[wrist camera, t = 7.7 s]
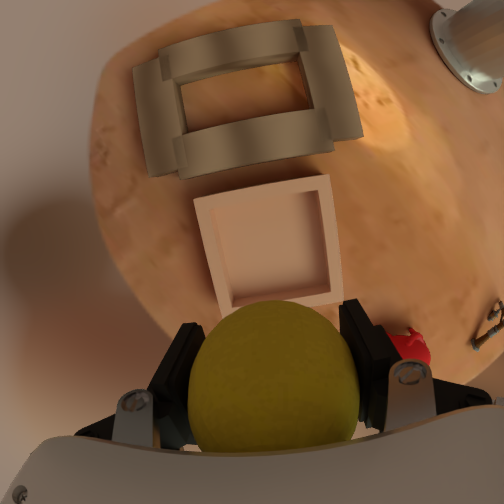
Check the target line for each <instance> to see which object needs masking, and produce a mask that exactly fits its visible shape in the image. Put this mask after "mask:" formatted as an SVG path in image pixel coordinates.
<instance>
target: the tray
mask: <svg viewBox="0 0 504 504" xmlns="http://www.w3.org/2000/svg"><path fill="white" fill-rule="evenodd" d="M193 201H194V205H195V210H196V214H197V219H198V223H199V227H200V232H201V236H202V240H203V244H204V248H205V253H206V257H207V261H208V265H209V269H210V273H211V277H212V280H213V284H214V288H215V292H216V296H217V300H218V303H219V307H220V311H221V314H222V318H223V319H224V318H225V317H226V316H228V315H229V314H231V313H233V312H234V311H236V310H238V309H239V308H241V307H243V306H246V305H250V304H253V303H256V302H259V301H269V300H283V301H291V302H295V303H298V304H301V305H304V306H306V307H314V306H319V305H325V304H330V303H335V302H341V301H344V294H343V281H342V269H341V258H340V249H339V240H338V231H337V223H336V216H335V209H334V202H333V195H332V189H331V182H330V176H329V174H319V175H313V176H306V177H300V178H294V179H287V180H282V181H276V182H270V183H265V184H259V185H254V186H249V187H243V188H238V189H233V190H228V191H224V192H219V193H214V194H210V195H205V196H201V197H198V198H195V199H193Z"/></svg>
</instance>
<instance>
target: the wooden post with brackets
mask: <svg viewBox="0 0 504 504" xmlns="http://www.w3.org/2000/svg"><path fill="white" fill-rule="evenodd" d="M499 305H500V306H499V307H500V309H501V312H502V314H501V319H500V323H499V324H498V325H495V326H494V327H492V328H491V329H490V330H488V331H487V333H486V334H484V335H483V336H481V337H480V338H478V339H476V340H474V339H472V340H471V343H472V347H473V350H475V351H477V352H478V351H479V348H480V346H481V345H482V344H483V343H484V342H485V341H487V340H488V339H489V338H490V337H491V338H492V336H494V335H495V334H497V332H499V330H501V329H502V328H503V327H504V319H503V321H502V318H503V316H504V305H503V303H502V301H500V302H499ZM500 309H498V310H497V311H494V310H493V312H492V313H491V314H490V315H489V318H488V321H490V320H492V321H493V320H494V319H495V318H496V317H497V318H498V315H497V314H498V313H499V312H500Z"/></svg>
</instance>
